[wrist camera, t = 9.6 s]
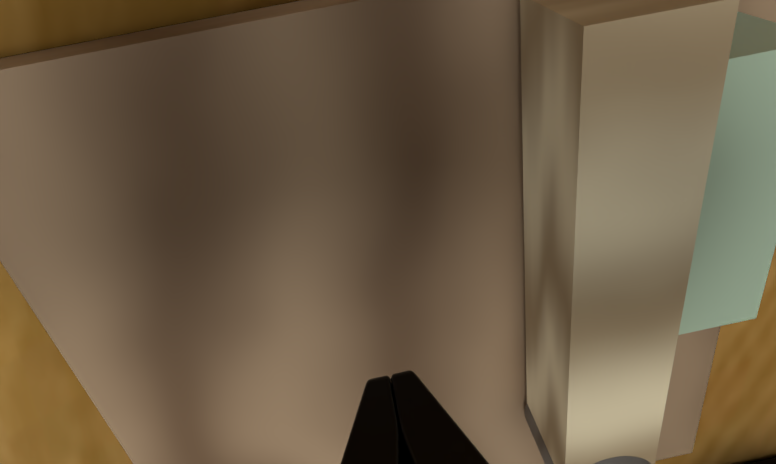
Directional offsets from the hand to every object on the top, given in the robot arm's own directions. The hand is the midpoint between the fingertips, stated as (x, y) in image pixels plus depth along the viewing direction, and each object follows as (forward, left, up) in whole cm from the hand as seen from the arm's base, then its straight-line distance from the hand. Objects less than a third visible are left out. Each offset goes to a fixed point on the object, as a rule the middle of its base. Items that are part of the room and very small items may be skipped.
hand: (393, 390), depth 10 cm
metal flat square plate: (-1, +5, -8) cm, 10 cm away
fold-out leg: (-6, +4, -7) cm, 10 cm away
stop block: (-9, +1, -7) cm, 12 cm away
